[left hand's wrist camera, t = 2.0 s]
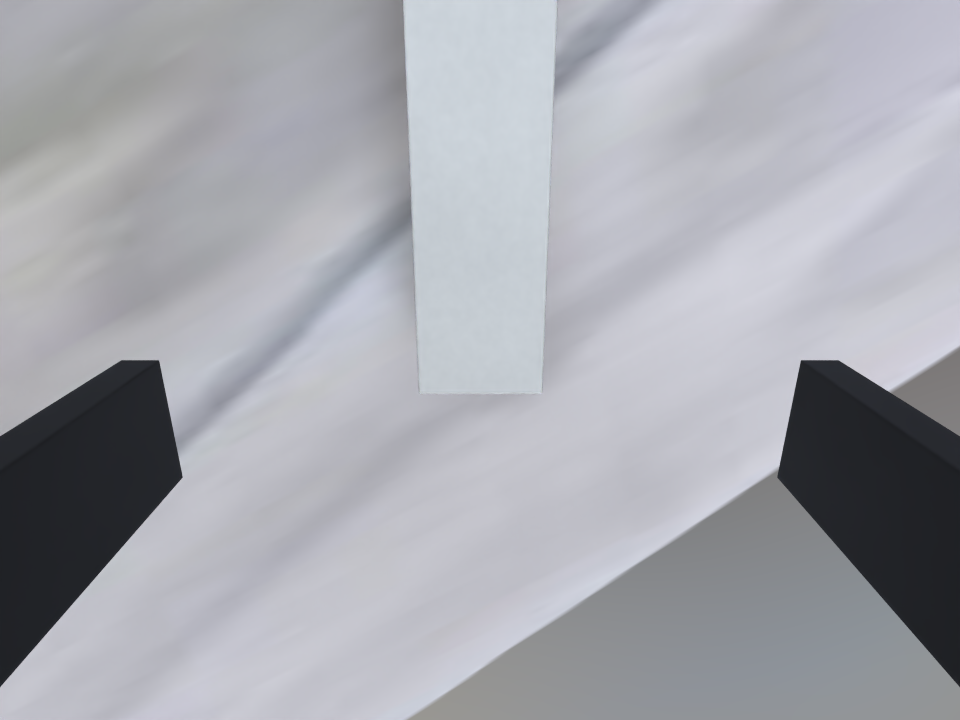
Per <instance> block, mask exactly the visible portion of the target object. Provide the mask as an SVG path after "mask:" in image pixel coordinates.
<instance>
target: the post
mask: <svg viewBox="0 0 960 720" xmlns="http://www.w3.org/2000/svg"><path fill="white" fill-rule="evenodd" d="M557 5H558V0H403V18H404V43H405V67H406V92H407V117H408V141H409V166H410V190H411V215H412V240H413V264H414V289H415V314H416V338H417V363H418V388H419V394H542V389H543V363H544V338H545V312H546V287H547V261H548V235H549V210H550V184H551V159H552V133H553V108H554V82H555V56H556V31H557Z"/></svg>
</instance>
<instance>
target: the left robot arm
mask: <svg viewBox="0 0 960 720" xmlns="http://www.w3.org/2000/svg"><path fill="white" fill-rule="evenodd" d="M181 479H182V472H181V467H180V462H179V457H178V452H177V447H176V442H175V437H174V432H173V427H172V422H171V417H170V412H169V408H168V403H167V398H166V393H165V388H164V383H163V378H162V373H161V368H160V363H159V360H121V361H120V362H118V363H117V364H115V365H113V366H112V367H110V368H109V369H107V370H105V371H104V372H102V373H101V374H99V375H97V376H96V377H94V378H93V379H91V380H89V381H88V382H86V383H85V384H83V385H82V386H80V387H78V388H77V389H75V390H74V391H72V392H70V393H69V394H67V395H66V396H64V397H62V398H61V399H59V400H58V401H56V402H54V403H53V404H51V405H50V406H48V407H46V408H45V409H43V410H42V411H40V412H38V413H37V414H35V415H34V416H32V417H30V418H29V419H27V420H26V421H24V422H22V423H21V424H19V425H18V426H16V427H14V428H13V429H11V430H10V431H8V432H7V433H5V434H3V435H2V436H0V687H1V685H2V684H3V683H4V682H5V681H6V680H7V679H8V677H9V676H10V675H11V674H12V673H13V672H14V670H15V669H16V668H17V667H18V666H19V665H20V664H21V662H22V661H23V660H24V659H25V658H26V657H27V656H28V654H29V653H30V652H31V651H32V650H33V649H34V648H35V646H36V645H37V644H38V643H39V642H40V641H41V639H42V638H43V637H44V636H45V635H46V634H47V633H48V631H49V630H50V629H51V628H52V627H53V626H54V625H55V623H56V622H57V621H58V620H59V619H60V618H61V616H62V615H63V614H64V613H65V612H66V611H67V610H68V608H69V607H70V606H71V605H72V604H73V603H74V602H75V600H76V599H77V598H78V597H79V596H80V595H81V594H82V592H83V591H84V590H85V589H86V588H87V587H88V585H89V584H90V583H91V582H92V581H93V580H94V579H95V577H96V576H97V575H98V574H99V573H100V572H101V571H102V569H103V568H104V567H105V566H106V565H107V564H108V563H109V561H110V560H111V559H112V558H113V557H114V556H115V554H116V553H117V552H118V551H119V550H120V549H121V548H122V546H123V545H124V544H125V543H126V542H127V541H128V540H129V538H130V537H131V536H132V535H133V534H134V533H135V531H136V530H137V529H138V528H139V527H140V526H141V525H142V523H143V522H144V521H145V520H146V519H147V518H148V517H149V515H150V514H151V513H152V512H153V511H154V510H155V509H156V507H157V506H158V505H159V504H160V503H161V502H162V500H163V499H164V498H165V497H166V496H167V495H168V494H169V492H170V491H171V490H172V489H173V488H174V487H175V486H176V484H177V483H178V482H179V481H180V480H181ZM778 479H779V480H780V481H781V482H782V483H783V484H784V486H785V487H786V488H787V489H788V490H789V491H790V492H791V494H792V495H793V496H794V497H795V498H796V499H797V500H798V502H799V503H800V504H801V505H802V506H803V507H804V508H805V510H806V511H807V512H808V513H809V514H810V515H811V516H812V518H813V519H814V520H815V521H816V522H817V523H818V525H819V526H820V527H821V528H822V529H823V530H824V531H825V533H826V534H827V535H828V536H829V537H830V538H831V539H832V541H833V542H834V543H835V544H836V545H837V546H838V548H839V549H840V550H841V551H842V552H843V553H844V554H845V556H846V557H847V558H848V559H849V560H850V561H851V563H852V564H853V565H854V566H855V567H856V568H857V569H858V571H859V572H860V573H861V574H862V575H863V576H864V577H865V579H866V580H867V581H868V582H869V583H870V584H871V585H872V587H873V588H874V589H875V590H876V591H877V592H878V593H879V595H880V596H881V597H882V598H883V599H884V600H885V602H886V603H887V604H888V605H889V606H890V607H891V608H892V610H893V611H894V612H895V613H896V614H897V615H898V616H899V618H900V619H901V620H902V621H903V622H904V623H905V625H906V626H907V627H908V628H909V629H910V630H911V631H912V633H913V634H914V635H915V636H916V637H917V638H918V639H919V641H920V642H921V643H922V644H923V645H924V646H925V647H926V649H927V650H928V651H929V652H930V653H931V654H932V655H933V657H934V658H935V659H936V660H937V661H938V662H939V664H940V665H941V666H942V667H943V668H944V669H945V670H946V672H947V673H948V674H949V675H950V676H951V677H952V679H953V680H954V681H955V682H956V683H957V684H958V685H959V687H960V436H958V435H957V434H955V433H953V432H952V431H950V430H949V429H947V428H946V427H944V426H942V425H941V424H939V423H938V422H936V421H934V420H933V419H931V418H930V417H928V416H926V415H925V414H923V413H922V412H920V411H918V410H917V409H915V408H914V407H912V406H910V405H909V404H907V403H906V402H904V401H902V400H901V399H899V398H898V397H896V396H894V395H893V394H891V393H890V392H888V391H886V390H885V389H883V388H882V387H880V386H878V385H877V384H875V383H874V382H872V381H871V380H869V379H867V378H866V377H864V376H863V375H861V374H859V373H858V372H856V371H855V370H853V369H851V368H850V367H848V366H847V365H845V364H843V363H842V362H840V361H839V360H801V363H800V368H799V373H798V378H797V383H796V388H795V393H794V398H793V403H792V408H791V412H790V417H789V422H788V427H787V432H786V437H785V442H784V447H783V452H782V457H781V462H780V467H779V472H778Z"/></svg>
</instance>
